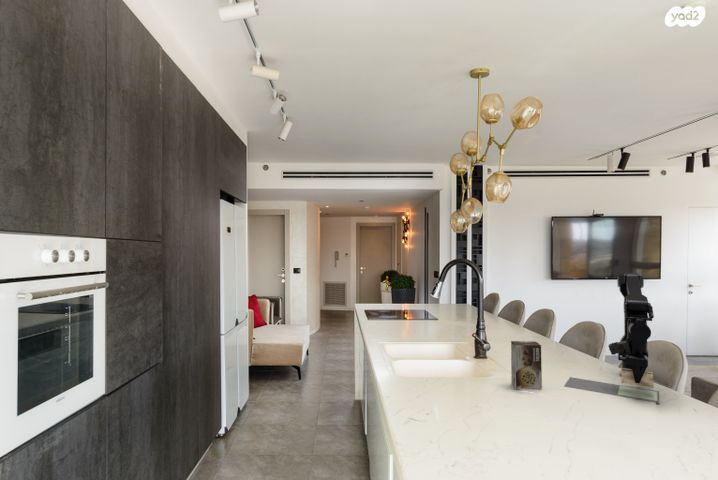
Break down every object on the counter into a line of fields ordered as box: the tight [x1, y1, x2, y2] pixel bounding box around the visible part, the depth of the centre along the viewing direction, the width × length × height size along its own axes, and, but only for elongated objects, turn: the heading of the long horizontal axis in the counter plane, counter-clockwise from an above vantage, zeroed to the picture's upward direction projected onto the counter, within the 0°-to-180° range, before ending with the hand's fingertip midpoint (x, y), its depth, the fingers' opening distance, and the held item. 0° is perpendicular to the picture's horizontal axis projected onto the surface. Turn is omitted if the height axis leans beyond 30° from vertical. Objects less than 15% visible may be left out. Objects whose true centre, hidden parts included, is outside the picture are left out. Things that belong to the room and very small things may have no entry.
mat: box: [563, 376, 660, 406], centre depth 150 cm, size 14×28×1 cm, turn 55°
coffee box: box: [510, 340, 543, 391], centre depth 152 cm, size 9×6×16 cm
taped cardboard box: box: [620, 367, 654, 389], centre depth 145 cm, size 9×5×4 cm, turn 55°
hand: (637, 381), depth 145 cm, fingers closed on taped cardboard box, 5 cm apart
